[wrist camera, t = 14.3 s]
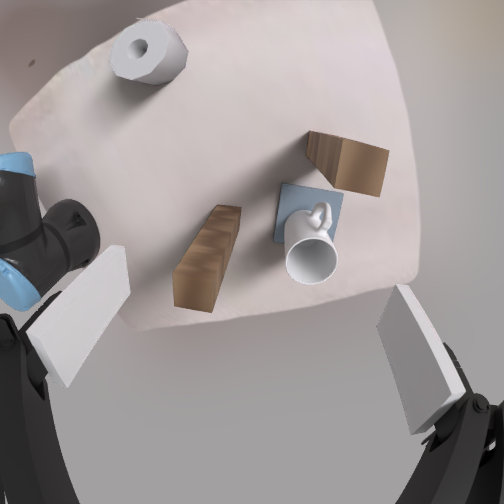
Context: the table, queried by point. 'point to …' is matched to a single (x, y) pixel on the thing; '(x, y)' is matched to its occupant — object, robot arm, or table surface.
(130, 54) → the toilet tissue
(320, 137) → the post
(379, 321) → the robot arm
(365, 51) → the table surface
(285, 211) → the mat
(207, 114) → the table surface
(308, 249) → the mug
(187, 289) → the corner post
